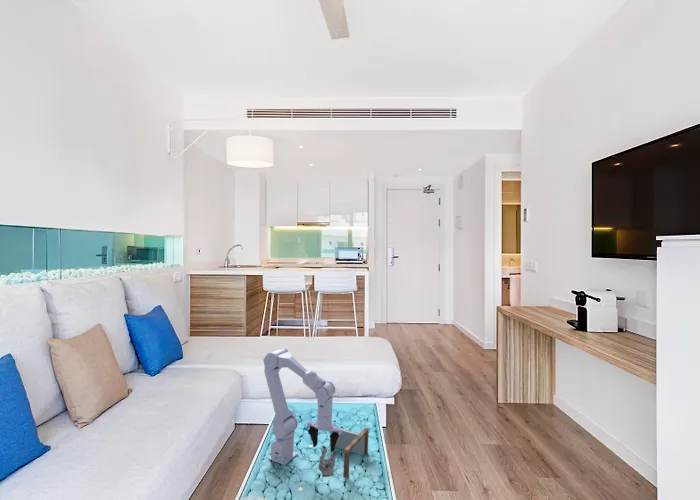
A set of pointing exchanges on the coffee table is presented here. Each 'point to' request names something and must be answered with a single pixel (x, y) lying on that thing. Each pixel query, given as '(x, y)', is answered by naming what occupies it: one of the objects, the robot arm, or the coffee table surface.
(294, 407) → the coffee table surface
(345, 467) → the door frame
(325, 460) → the driftwood
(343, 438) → the door
